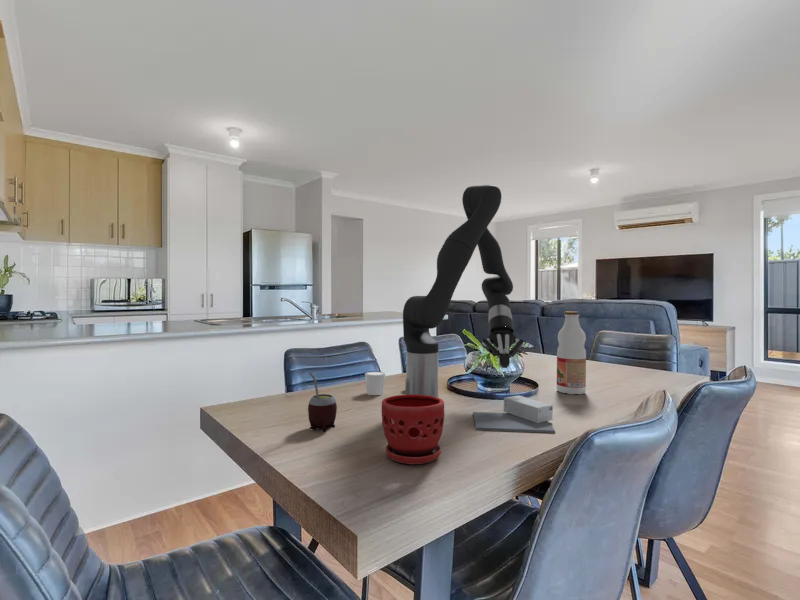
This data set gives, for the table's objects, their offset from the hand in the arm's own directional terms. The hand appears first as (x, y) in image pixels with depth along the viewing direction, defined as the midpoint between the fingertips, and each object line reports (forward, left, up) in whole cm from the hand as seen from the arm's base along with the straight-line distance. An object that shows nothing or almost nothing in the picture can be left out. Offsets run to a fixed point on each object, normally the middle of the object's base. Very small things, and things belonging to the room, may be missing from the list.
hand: (505, 366), depth 127 cm
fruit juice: (+26, +25, -13) cm, 38 cm away
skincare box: (+1, -4, -10) cm, 11 cm away
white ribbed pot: (-41, +13, -13) cm, 45 cm away
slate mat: (0, -14, -13) cm, 19 cm away
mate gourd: (-48, -25, -13) cm, 56 cm away
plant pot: (-24, -40, -13) cm, 48 cm away
